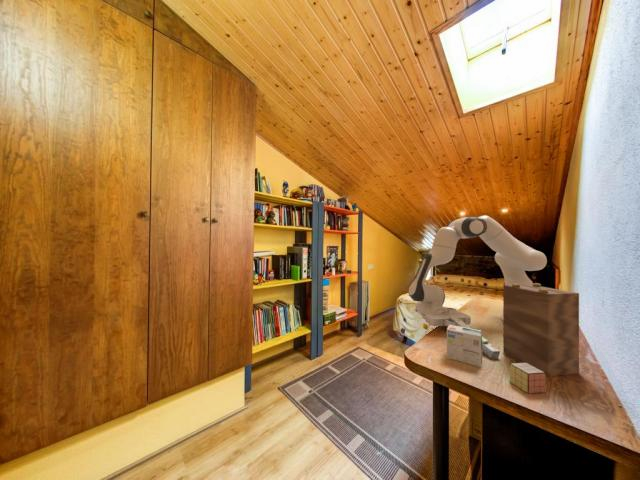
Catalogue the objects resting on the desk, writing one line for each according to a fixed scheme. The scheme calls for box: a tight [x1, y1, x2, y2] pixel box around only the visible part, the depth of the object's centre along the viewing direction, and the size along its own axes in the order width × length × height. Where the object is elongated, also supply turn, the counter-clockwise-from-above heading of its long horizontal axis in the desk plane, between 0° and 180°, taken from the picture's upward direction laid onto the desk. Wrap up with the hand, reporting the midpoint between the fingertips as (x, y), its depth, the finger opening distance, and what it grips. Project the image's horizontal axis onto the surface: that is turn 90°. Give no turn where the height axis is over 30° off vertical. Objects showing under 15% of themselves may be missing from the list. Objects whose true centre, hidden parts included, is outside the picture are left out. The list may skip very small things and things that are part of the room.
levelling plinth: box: [502, 282, 580, 377], centre depth 81 cm, size 12×15×27 cm
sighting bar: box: [449, 316, 501, 360], centre depth 95 cm, size 3×24×4 cm, turn 7°
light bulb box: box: [446, 324, 483, 368], centre depth 83 cm, size 11×7×11 cm, turn 54°
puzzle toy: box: [509, 362, 546, 394], centre depth 67 cm, size 6×6×6 cm
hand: (460, 325), depth 101 cm, fingers closed on sighting bar, 3 cm apart
